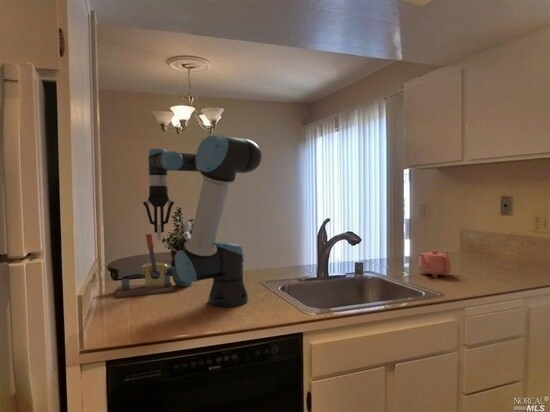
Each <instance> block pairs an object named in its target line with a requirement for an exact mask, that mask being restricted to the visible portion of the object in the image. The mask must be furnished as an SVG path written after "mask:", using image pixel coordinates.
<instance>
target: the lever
mask: <svg viewBox="0 0 550 412" xmlns="http://www.w3.org/2000/svg"><path fill="white" fill-rule="evenodd" d="M145 238H146V245H147V249H148V251H149V258H150V263H151V264H152V271H151V273H150V276H151V278H152V279H158V278H159V277H160V271H159V270H157V269H156V264H155V263H156V260H155V259H156V258H155V253H154V244H153V243H154V242H153V236H152V233H145Z"/></svg>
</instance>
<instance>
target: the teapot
mask: <svg viewBox="0 0 550 412" xmlns="http://www.w3.org/2000/svg"><path fill="white" fill-rule="evenodd" d="M449 253H450V250H446V251H444V253H441V252H438V250H436V249H433V250H431V251H429V252H427V251H426V252H421V253H418V255H419V260H418V270H419V271H420V272H422V273H424V274H428V275H429V274H430V275H432V276H439V275H440V276H441V275H446V276H447V274H450V273H451V267H452V266H451V261H450V258H449ZM432 276H431V277H432Z"/></svg>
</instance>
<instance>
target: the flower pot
mask: <svg viewBox="0 0 550 412" xmlns="http://www.w3.org/2000/svg"><path fill="white" fill-rule="evenodd" d="M171 277H172V281H173V283H174V284H175V286H176V287H178V286H179V287H182V288H183V287H185V288H187V287H189V286H190V285H192V284H193V282H184V281H183V280H181V278H180V277H179V275H178V273H177V270H176V267H175V266H173V267H171Z"/></svg>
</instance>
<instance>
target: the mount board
mask: <svg viewBox="0 0 550 412" xmlns="http://www.w3.org/2000/svg"><path fill="white" fill-rule="evenodd" d="M116 288H117V289H116V295H115V299H120V298H124V299H125V298H131V297H132V298H133V297H140V296H141V297H143V296H150V295H161V294H171V293H175V289H174V286H173V285H172V281H170V286H166V287H162V288H151V289H145V283H143V284H130V289H129V290H125V291H122V285H119V286H117V287H116Z"/></svg>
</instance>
